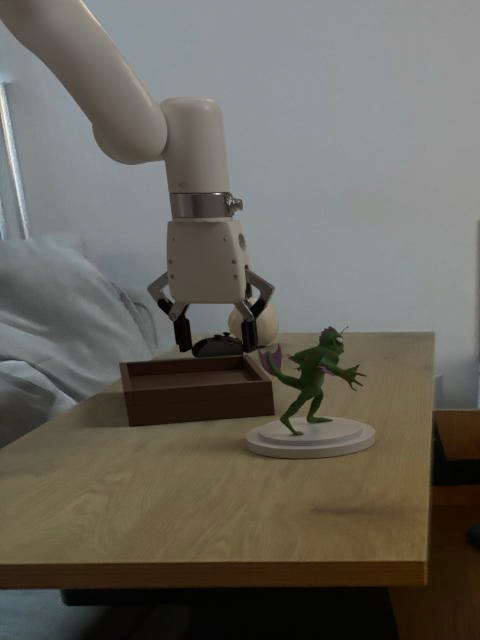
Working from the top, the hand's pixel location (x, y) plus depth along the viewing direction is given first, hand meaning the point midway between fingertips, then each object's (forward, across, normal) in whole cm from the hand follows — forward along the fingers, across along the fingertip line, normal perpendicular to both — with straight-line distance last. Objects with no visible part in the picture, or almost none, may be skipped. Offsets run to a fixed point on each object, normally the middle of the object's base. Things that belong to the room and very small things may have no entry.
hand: (218, 350), depth 132 cm
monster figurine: (+2, -23, +42) cm, 48 cm away
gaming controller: (+2, 0, 0) cm, 2 cm away
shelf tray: (+2, -6, +26) cm, 27 cm away
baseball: (+2, -1, -13) cm, 13 cm away
